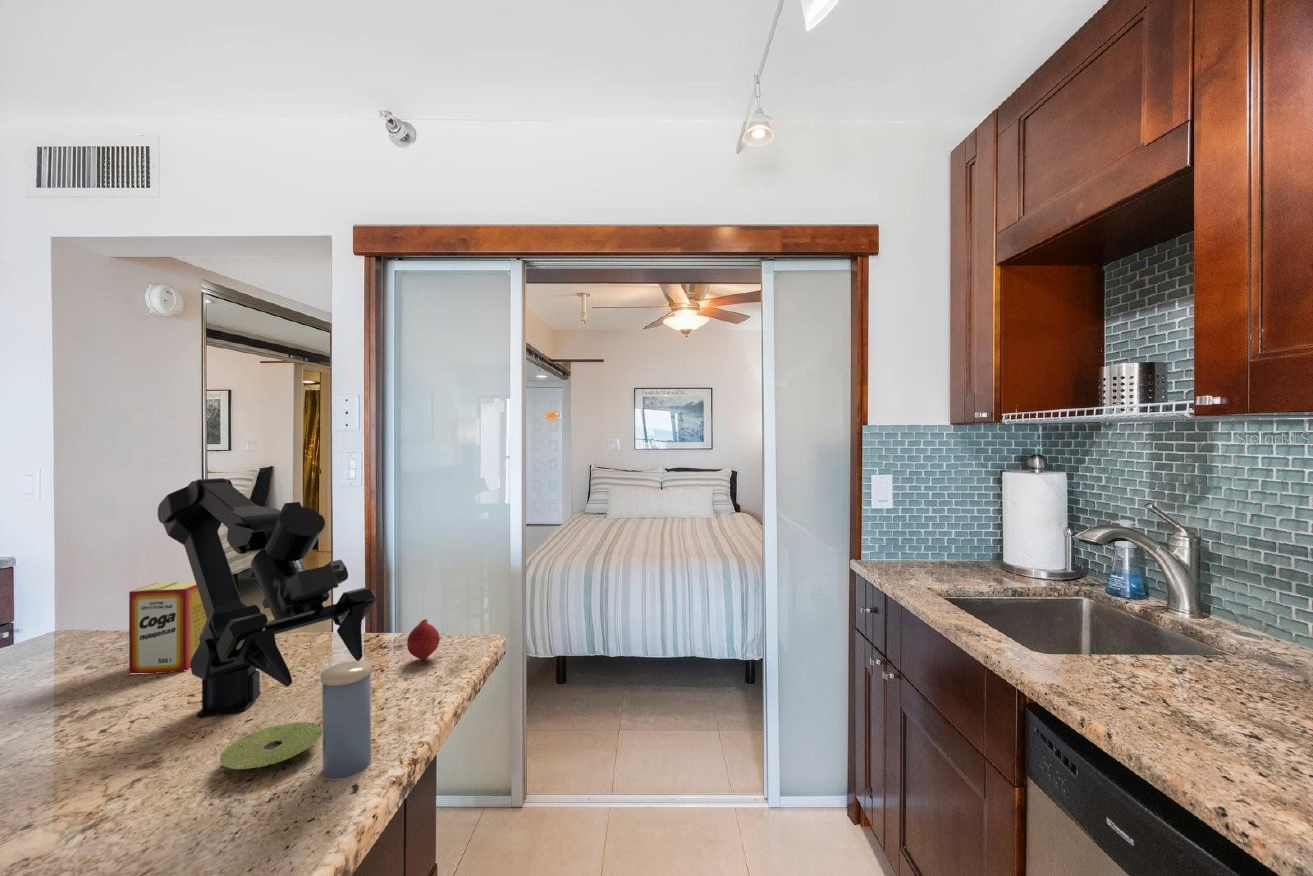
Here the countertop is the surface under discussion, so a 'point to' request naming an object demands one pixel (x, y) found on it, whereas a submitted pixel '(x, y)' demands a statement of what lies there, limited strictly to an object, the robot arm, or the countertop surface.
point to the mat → (270, 745)
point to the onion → (423, 640)
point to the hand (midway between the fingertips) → (326, 671)
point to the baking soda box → (164, 626)
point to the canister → (346, 718)
